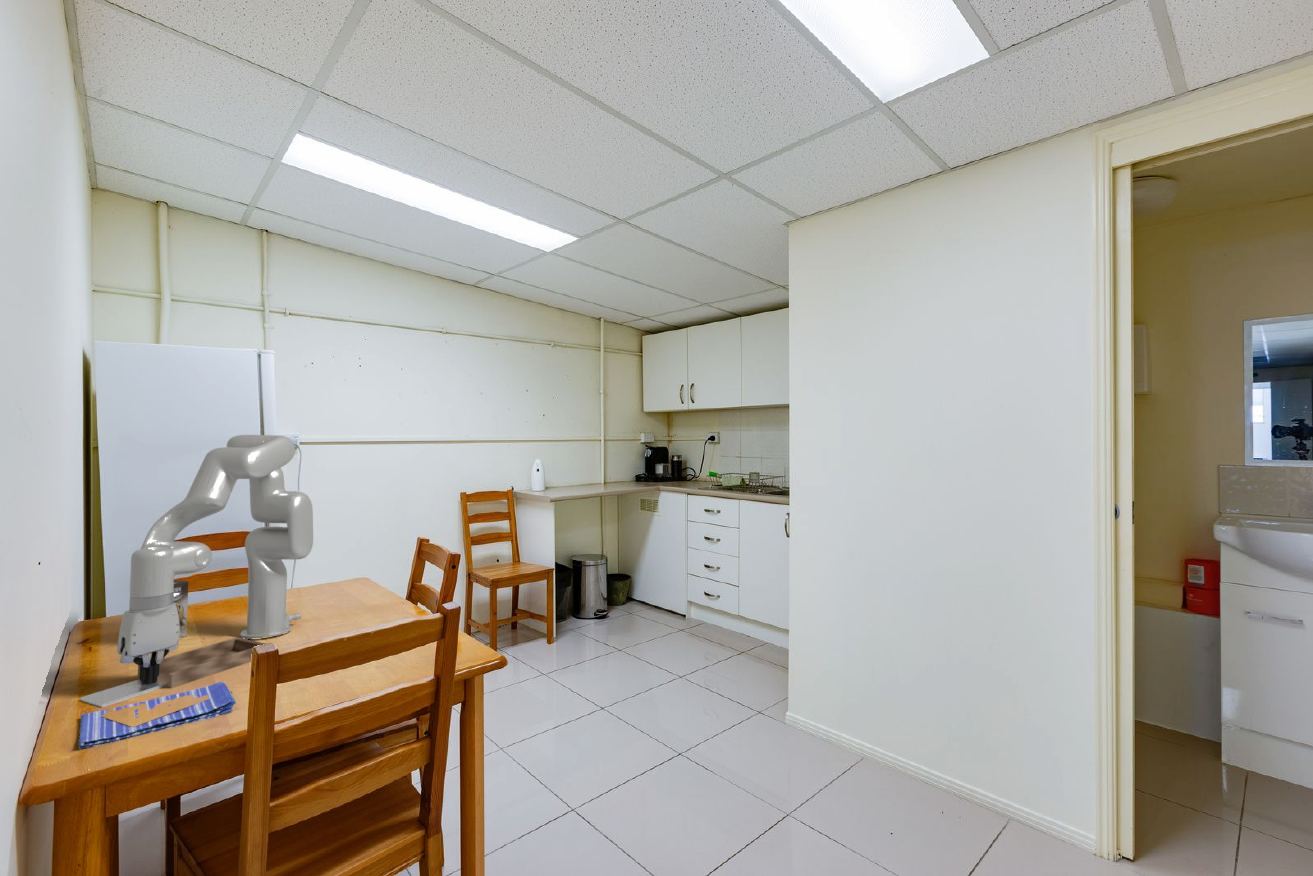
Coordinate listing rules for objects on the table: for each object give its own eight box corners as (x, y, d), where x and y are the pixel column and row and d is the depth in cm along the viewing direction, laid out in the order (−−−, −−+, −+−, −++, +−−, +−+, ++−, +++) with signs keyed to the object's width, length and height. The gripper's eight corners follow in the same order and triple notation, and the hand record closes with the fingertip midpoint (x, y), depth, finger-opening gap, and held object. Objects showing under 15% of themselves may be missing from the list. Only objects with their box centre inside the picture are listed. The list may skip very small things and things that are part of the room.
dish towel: (237, 714, 120) (237, 700, 120) (76, 755, 103) (77, 739, 103) (225, 688, 132) (225, 676, 132) (80, 721, 115) (80, 707, 115)
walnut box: (236, 651, 154) (237, 637, 154) (268, 658, 149) (269, 644, 149) (137, 682, 133) (138, 665, 133) (171, 691, 128) (171, 674, 128)
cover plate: (142, 687, 132) (142, 678, 132) (163, 693, 129) (163, 684, 129) (80, 706, 122) (80, 697, 122) (101, 713, 119) (102, 704, 119)
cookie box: (154, 647, 156) (156, 588, 156) (135, 645, 157) (137, 586, 157) (187, 636, 165) (189, 580, 165) (170, 634, 166) (171, 579, 166)
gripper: (179, 592, 138) (176, 668, 138) (100, 608, 125) (98, 692, 124) (198, 596, 136) (196, 673, 135) (120, 612, 122) (117, 698, 121)
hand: (149, 681), depth 130 cm, fingers closed
